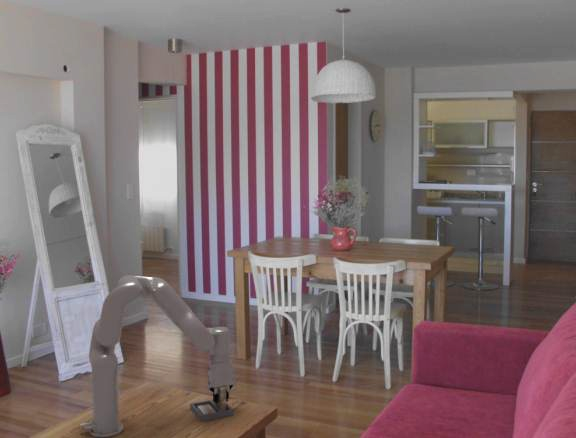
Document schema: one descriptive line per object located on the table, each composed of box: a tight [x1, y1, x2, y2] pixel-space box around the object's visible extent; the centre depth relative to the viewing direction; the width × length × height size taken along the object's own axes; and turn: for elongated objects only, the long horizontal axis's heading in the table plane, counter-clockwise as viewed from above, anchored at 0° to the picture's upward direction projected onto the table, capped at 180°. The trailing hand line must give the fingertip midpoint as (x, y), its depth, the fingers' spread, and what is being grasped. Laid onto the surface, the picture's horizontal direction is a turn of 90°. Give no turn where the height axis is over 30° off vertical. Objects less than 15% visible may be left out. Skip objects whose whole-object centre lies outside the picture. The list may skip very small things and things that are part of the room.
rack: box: [189, 399, 234, 423], centre depth 266 cm, size 14×14×3 cm
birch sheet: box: [216, 386, 227, 411], centre depth 267 cm, size 2×7×12 cm, turn 25°
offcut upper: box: [197, 404, 215, 415], centre depth 265 cm, size 5×10×2 cm, turn 24°
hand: (221, 400), depth 267 cm, fingers open, 3 cm apart
